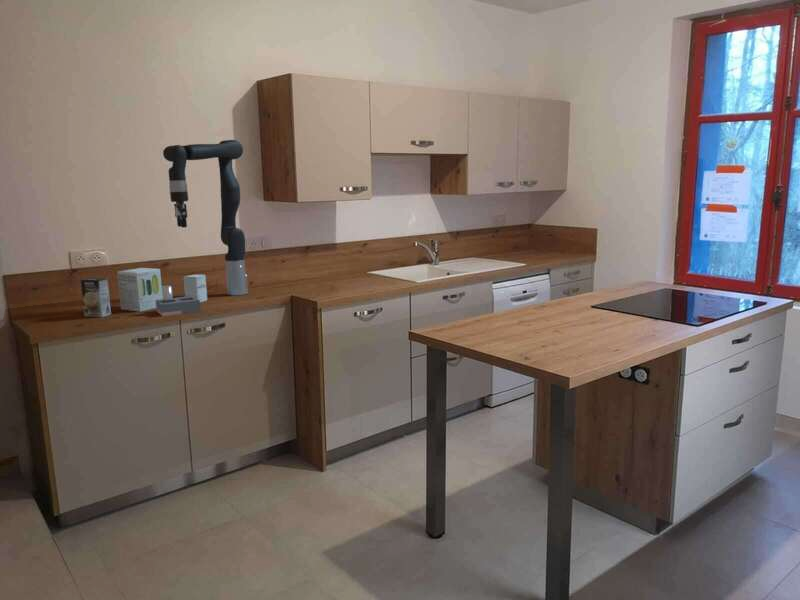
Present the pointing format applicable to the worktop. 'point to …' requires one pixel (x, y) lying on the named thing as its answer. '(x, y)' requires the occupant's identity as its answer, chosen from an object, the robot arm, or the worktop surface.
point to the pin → (167, 294)
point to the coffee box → (96, 297)
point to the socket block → (178, 306)
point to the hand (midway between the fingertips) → (182, 226)
